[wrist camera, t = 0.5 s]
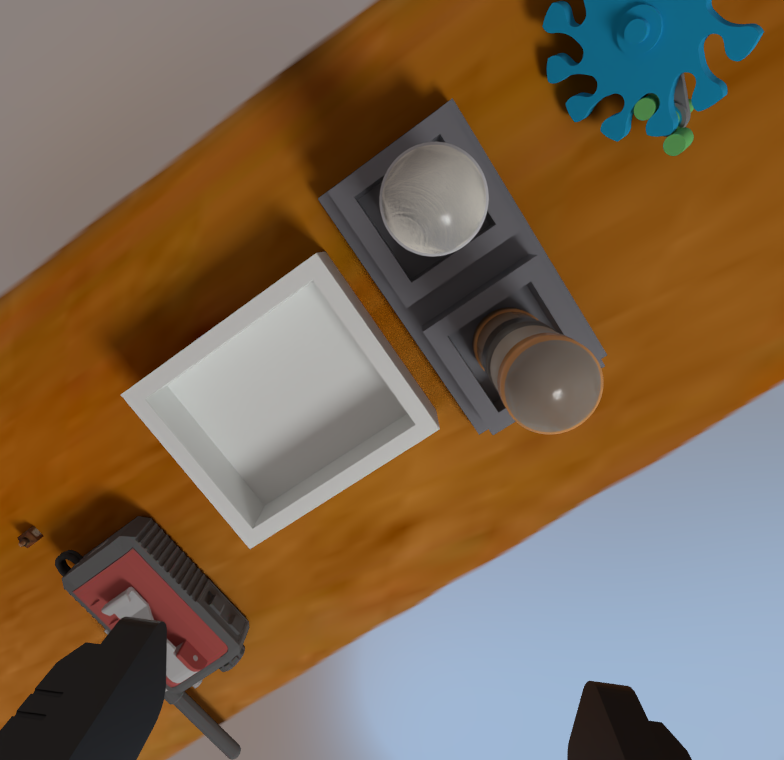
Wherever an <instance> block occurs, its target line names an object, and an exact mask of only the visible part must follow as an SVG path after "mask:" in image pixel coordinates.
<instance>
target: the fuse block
mask: <svg viewBox="0 0 784 760" xmlns="http://www.w3.org/2000/svg"><path fill="white" fill-rule="evenodd" d="M426 142H444V143H448V144H452V145H455V146H457V147H459V148H461V149H462V150H464V151H466V152H467V153H468V154H469V155H470V156H471V157H472V158H473V159H474V160H475V161H476V162H477V163H478V165H479V166H480V168H481V170H482V172H483V174H484V176H485V179H486V182H487V186H488V194H489V201H488V209H487V214H486V217H485V220H484V222H483V224H482V226H481V228H480V230H479V231H478V233H477V234H476V235H475V237H474V238H473V239H472V240H471V241H470V242H469V243H468V244H466V245H465V246H464V247H462V248H461V249H459V250H457V251H455V252H453V253H450V254H447V255H443V256H423V255H419V254H416V253H413V252H411V251H409V250H407V249H405V248H404V247H402V246H401V245H400V244H399V243H397V242H396V240H395V239H394V238H393V237H392V236H391V235H390V233H389V232H388V230H387V228H386V227H385V224H384V222H383V219H382V216H381V212H380V204H379V197H380V189H381V184H382V181H383V178H384V176H385V174H386V172H387V170H388V168H389V167H390V165H391V164H392V163H393V161H394V160H395V159H396V158H397V157H398V156H399V155H401V154H402V153H403V152H404V151H406V150H408V149H409V148H411V147H413V146H415V145H418V144H422V143H426ZM318 200H319V201H320V203H321V204H322V206H323V207H324V209H325V210H326V212H327V213H328V214H329V216H330V217H331V219H332V220H333V222H334V223H335V225H336V226H337V228H338V229H339V230H340V232H341V233H342V235H343V236H344V238H345V239H346V241H347V242H348V244H349V245H350V247H351V248H352V249H353V251H354V252H355V254H356V255H357V257H358V258H359V260H360V261H361V263H362V264H363V266H364V267H365V268H366V270H367V271H368V273H369V274H370V276H371V277H372V279H373V280H374V282H375V283H376V284H377V286H378V287H379V289H380V290H381V292H382V293H383V295H384V296H385V298H386V299H387V301H388V302H389V303H390V305H391V306H392V308H393V309H394V311H395V312H396V314H397V315H398V317H399V318H400V320H401V321H402V322H403V324H404V325H405V327H406V328H407V330H408V331H409V333H410V334H411V336H412V337H413V338H414V340H415V341H416V343H417V344H418V346H419V347H420V349H421V350H422V352H423V353H424V355H425V356H426V357H427V359H428V360H429V362H430V363H431V365H432V366H433V368H434V369H435V371H436V372H437V374H438V375H439V376H440V378H441V379H442V381H443V382H444V384H445V385H446V387H447V388H448V390H449V391H450V393H451V394H452V395H453V397H454V398H455V400H456V401H457V403H458V404H459V406H460V407H461V409H462V410H463V411H464V413H465V414H466V416H467V417H468V419H469V420H470V422H471V423H472V425H473V426H474V428H475V429H476V430H477V432H478V433H479V434H481V433H483V432H484V431H486V430H487V429H489V430H490V432H491V433H492V435H494V434H496V433H497V432H499V431H501V430H502V429H504V428H506V427H507V426H509V425H510V424H512V423H514V422H515V420H514V419H513V418H512V417H511V415H510V414H509V412H508V411H507V409H506V407H505V406H504V404H503V402H502V401H501V398H500V396H499V393H498V392H497V390H496V389H495V387H494V386H493V384H492V383H491V381H490V379H489V378H488V376H487V374H486V372H485V371H484V370H483V369H482V368H481V366H480V365H479V363H478V361H477V360H476V358H475V355H474V352H473V347H472V340H473V335H474V331H475V329H476V327H477V325H478V324H479V322H480V321H481V320H482V319H483V318H484V317H485V316H486V315H488V314H489V313H491V312H492V311H494V310H497V309H500V308H505V307H513V308H519V309H522V310H524V311H526V312H528V313H530V314H531V315H533V316H534V317H536V318H537V319H538V320H539V321H541V322H543V323H544V324H546V325H548V326H549V327H551V328H553V329H554V330H556V331H558V332H559V333H560V334H562V335H565V336H568V337H570V338H572V339H573V340H575V341H577V342H578V343H580V344H582V345H584V346H585V347H586V348H587V349H589V350H590V351H591V352H592V353H593V355H594V356H595V357H596V359H597V360H598V362H599V364H600V367H601V368H603V367H604V366H605V365H604V364H603V362H602V360H601V359H602V358H603V357H605V356H607V354H606V352H605V351H604V349H603V347H602V346H601V344H600V342H599V341H598V339H597V337H596V336H595V334H594V332H593V331H592V329H591V327H590V326H589V324H588V323H587V321H586V319H585V318H584V316H583V314H582V313H581V311H580V309H579V308H578V306H577V304H576V303H575V301H574V299H573V298H572V296H571V294H570V293H569V291H568V289H567V288H566V286H565V284H564V283H563V281H562V279H561V278H560V276H559V274H558V273H557V271H556V269H555V268H554V266H553V264H552V263H551V261H550V259H549V258H548V256H547V254H546V253H545V251H544V249H543V248H542V246H541V244H540V243H539V241H538V240H537V238H536V236H535V235H534V233H533V231H532V230H531V228H530V226H529V225H528V223H527V221H526V220H525V218H524V216H523V215H522V213H521V211H520V210H519V208H518V206H517V205H516V203H515V201H514V200H513V198H512V196H511V195H510V193H509V191H508V190H507V188H506V186H505V185H504V183H503V181H502V180H501V178H500V176H499V175H498V173H497V171H496V170H495V168H494V166H493V165H492V163H491V161H490V160H489V158H488V156H487V155H486V153H485V152H484V150H483V148H482V147H481V145H480V143H479V142H478V140H477V138H476V137H475V135H474V133H473V132H472V130H471V128H470V127H469V125H468V123H467V122H466V120H465V118H464V117H463V115H462V113H461V112H460V110H459V108H458V107H457V105H456V103H455V102H454V100H453V98H452V99H451V100H450V101H448V102H447V103H446V104H444V105H443V106H442V107H440V108H439V109H438V110H436V111H435V112H434V113H432V114H431V115H430V116H428V117H427V118H425V119H424V120H423V121H421V122H420V123H419V124H417V125H416V126H415V127H413V128H412V129H411V130H409V131H408V132H407V133H405V134H404V135H403V136H401V137H400V138H399V139H397V140H396V141H395V142H393V143H392V144H391V145H389V146H388V147H387V148H385V149H384V150H383V151H381V152H380V153H378V154H377V155H376V156H374V157H373V158H372V159H370V160H369V161H368V162H366V163H365V164H364V165H362V166H361V167H360V168H358V169H357V170H356V171H354V172H353V173H352V174H350V175H349V176H348V177H346V178H345V179H344V180H342V181H341V182H340V183H338V184H337V185H335V186H334V187H333V188H331V189H330V190H329V191H327V192H326V193H325V194H323V195H322V196H321V197H319V198H318Z"/></svg>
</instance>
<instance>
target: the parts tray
mask: <svg viewBox="0 0 784 760" xmlns="http://www.w3.org/2000/svg"><path fill="white" fill-rule="evenodd" d="M121 396H122V397H123V398H124V400H125V401H126V402H127V403H128V404H129V405H130V407H131V408H132V409H133V410H134V411H135V413H136V414H137V415H138V416H139V417H140V419H141V420H142V421H143V422H144V423H145V425H146V426H147V427H148V428H149V429H150V431H151V432H152V433H153V434H154V435H155V436H156V438H157V439H158V440H159V441H160V442H161V444H162V445H163V446H164V447H165V448H166V450H167V451H168V452H169V453H170V454H171V456H172V457H173V458H174V459H175V460H176V462H177V463H178V464H179V465H180V466H181V467H182V469H183V470H184V471H185V472H186V473H187V475H188V476H189V477H190V478H191V479H192V481H193V482H194V483H195V484H196V485H197V487H198V488H199V489H200V490H201V491H202V493H203V494H204V495H205V496H206V497H207V499H208V500H209V501H210V502H211V503H212V504H213V506H214V507H215V508H216V509H217V510H218V512H219V513H220V514H221V515H222V516H223V518H224V519H225V520H226V521H227V522H228V524H229V525H230V526H231V527H232V528H233V530H234V531H235V532H236V533H237V534H238V535H239V537H240V538H241V539H242V540H243V541H244V543H245V544H246V545H247V546H248V547H249V549H251V548H252V547H254V546H256V545H257V544H259V543H260V542H262V541H264V540H265V539H267V538H268V537H270V536H271V535H273V534H275V533H276V532H278V531H279V530H281V529H283V528H284V527H286V526H287V525H289V524H290V523H292V522H294V521H295V520H297V519H298V518H300V517H302V516H303V515H305V514H306V513H308V512H309V511H311V510H313V509H314V508H316V507H317V506H319V505H320V504H322V503H324V502H325V501H327V500H328V499H330V498H332V497H333V496H335V495H336V494H338V493H339V492H341V491H343V490H344V489H346V488H347V487H349V486H351V485H352V484H354V483H355V482H357V481H358V480H360V479H362V478H363V477H365V476H366V475H368V474H370V473H371V472H373V471H374V470H376V469H377V468H379V467H381V466H382V465H384V464H385V463H387V462H389V461H390V460H392V459H393V458H395V457H396V456H398V455H400V454H401V453H403V452H404V451H406V450H408V449H409V448H411V447H412V446H414V445H415V444H417V443H419V442H420V441H422V440H423V439H425V438H427V437H428V436H430V435H431V434H433V433H434V432H436V431H438V430H439V429H440V428H439V423H438V417H437V412H436V409H435V408H434V406H433V405H432V403H431V402H430V401H429V399H428V398H427V396H426V395H425V393H424V392H423V391H422V389H421V388H420V386H419V385H418V383H417V382H416V380H415V379H414V378H413V376H412V375H411V373H410V372H409V370H408V369H407V368H406V366H405V365H404V363H403V362H402V360H401V359H400V358H399V356H398V355H397V353H396V352H395V350H394V349H393V348H392V346H391V345H390V343H389V342H388V340H387V339H386V337H385V336H384V335H383V333H382V332H381V330H380V329H379V327H378V326H377V325H376V323H375V322H374V320H373V319H372V317H371V316H370V315H369V313H368V312H367V310H366V309H365V307H364V306H363V304H362V303H361V302H360V300H359V299H358V297H357V296H356V294H355V293H354V292H353V290H352V289H351V287H350V286H349V284H348V283H347V282H346V280H345V279H344V277H343V276H342V274H341V273H340V272H339V270H338V269H337V267H336V266H335V264H334V263H333V261H332V260H331V259H330V257H329V256H328V254H327V253H326V251H325V252H319V253H315V254H314V255H313V256H311V257H310V258H309V259H307V260H306V261H304V262H303V263H302V264H300V265H299V266H298V267H296V268H295V269H293V270H292V271H291V272H289V273H288V274H287V275H285V276H284V277H282V278H281V279H280V280H278V281H277V282H275V283H274V284H273V285H271V286H270V287H269V288H267V289H266V290H264V291H263V292H262V293H260V294H259V295H258V296H256V297H255V298H253V299H252V300H251V301H249V302H248V303H247V304H245V305H244V306H242V307H241V308H240V309H238V310H237V311H235V312H234V313H233V314H231V315H230V316H229V317H227V318H226V319H224V320H223V321H222V322H220V323H219V324H218V325H216V326H215V327H213V328H212V329H211V330H209V331H208V332H207V333H205V334H204V335H202V336H201V337H200V338H198V339H197V340H195V341H194V342H193V343H191V344H190V345H189V346H187V347H186V348H184V349H183V350H182V351H180V352H179V353H178V354H176V355H175V356H173V357H172V358H171V359H169V360H168V361H167V362H165V363H164V364H162V365H161V366H160V367H158V368H157V369H155V370H154V371H153V372H151V373H150V374H149V375H147V376H146V377H144V378H143V379H142V380H140V381H139V382H138V383H136V384H135V385H133V386H132V387H131V388H129V389H128V390H127V391H125V392H124V393H122V394H121Z"/></svg>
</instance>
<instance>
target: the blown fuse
mask: <svg viewBox="0 0 784 760" xmlns="http://www.w3.org/2000/svg"><path fill="white" fill-rule="evenodd" d="M472 347H473V352H474V355H475V358H476V360H477V361H478V363H479V365H480V366H481V368H482V369H483V370H484V371H485V372H486V374H487V376H488V378H489V379H490V381H491V383H492V384H493V386H494V387H495V389H496V390H497V392H498V393H499V396H500V398H501V401H502V402H503V404H504V406H505V407H506V409H507V411H508V412H509V414H510V415H511V417H512V418H513V419H514V420H515V421H516V422H517V423H518V424H519V425H521V426H522V427H524V428H526V429H527V430H530V431H532V432H536V433H540V434H559V433H563V432H567V431H569V430H572V429H574V428H576V427H577V426H579V425H580V424H582V423H583V422H584V421H586V420H587V419H588V418H589V417H590V416H591V414H592V413H593V412H594V410H595V409H596V407H597V405H598V404H599V401H600V399H601V396H602V391H603V374H602V370H601V367H600V364H599V362H598V360H597V359H596V357H595V356H594V355H593V353H592V352H591V351H590V350H589V349H587V348H586V347H585V346H584V345H582V344H580V343H578V342H577V341H575V340H573V339H572V338H570V337H568V336H565V335H562V334H560V333H559V332H558V331H556V330H554V329H553V328H551V327H549V326H548V325H546V324H544V323H543V322H541V321H539V320H538V319H537V318H536V317H534V316H533V315H531V314H530V313H528V312H526V311H524V310H522V309H519V308H513V307H505V308H500V309H497V310H494V311H492V312H491V313H489V314H488V315H486V316H485V317H484V318H483V319H482V320H481V321H480V322H479V324H478V325H477V327H476V329H475V331H474V335H473V340H472Z"/></svg>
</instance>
